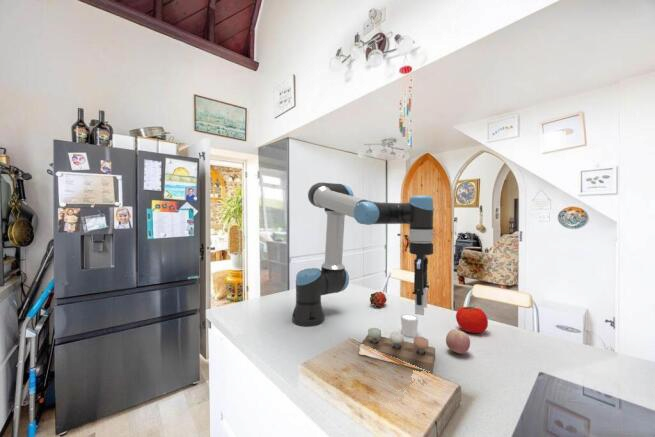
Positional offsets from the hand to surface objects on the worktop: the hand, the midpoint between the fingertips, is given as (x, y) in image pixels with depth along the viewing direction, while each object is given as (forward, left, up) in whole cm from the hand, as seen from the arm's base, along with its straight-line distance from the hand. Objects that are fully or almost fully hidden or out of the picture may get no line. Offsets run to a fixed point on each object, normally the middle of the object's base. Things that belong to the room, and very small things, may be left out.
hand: (421, 310), depth 88 cm
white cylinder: (-7, +20, -17) cm, 27 cm away
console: (-8, 0, -17) cm, 19 cm away
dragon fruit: (-28, +48, -17) cm, 58 cm away
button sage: (-16, 0, -15) cm, 22 cm away
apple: (+11, +12, -17) cm, 23 cm away
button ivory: (-8, 0, -15) cm, 17 cm away
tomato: (+16, +35, -17) cm, 42 cm away
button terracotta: (0, 0, -15) cm, 15 cm away
